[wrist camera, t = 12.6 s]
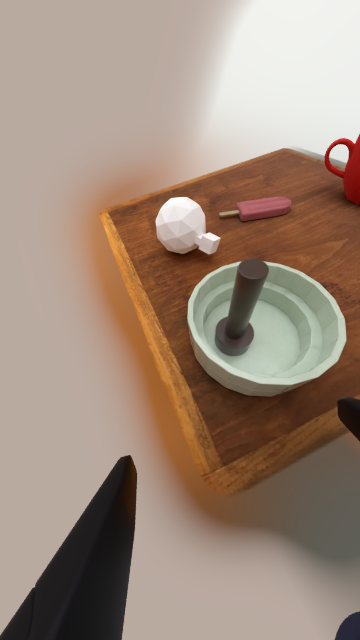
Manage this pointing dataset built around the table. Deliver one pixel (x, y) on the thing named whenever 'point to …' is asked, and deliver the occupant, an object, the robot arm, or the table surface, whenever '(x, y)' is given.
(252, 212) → the popsicle
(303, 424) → the table surface
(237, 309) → the pestle
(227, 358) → the bowl
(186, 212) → the perfume bottle
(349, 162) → the ceramic cup
